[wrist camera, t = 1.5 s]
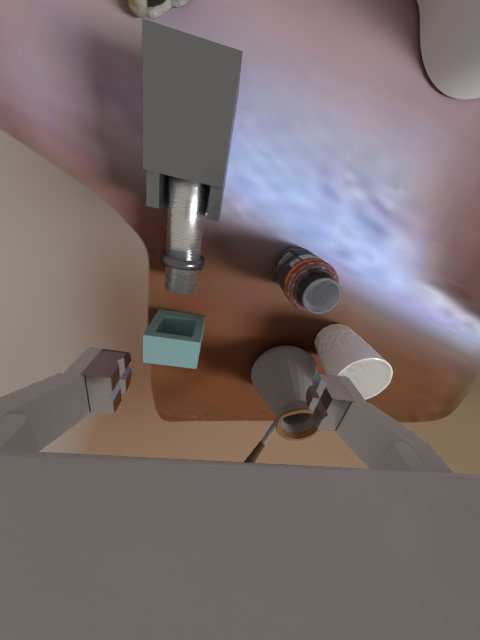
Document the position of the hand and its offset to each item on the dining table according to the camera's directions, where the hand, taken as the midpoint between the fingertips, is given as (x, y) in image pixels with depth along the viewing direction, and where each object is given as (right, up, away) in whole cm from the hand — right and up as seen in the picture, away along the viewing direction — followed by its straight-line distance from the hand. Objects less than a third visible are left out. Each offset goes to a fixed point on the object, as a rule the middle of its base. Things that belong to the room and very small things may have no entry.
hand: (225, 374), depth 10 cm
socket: (-9, +2, +26) cm, 28 cm away
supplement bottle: (+8, +10, +23) cm, 26 cm away
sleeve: (-4, +21, +16) cm, 27 cm away
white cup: (+17, -1, +29) cm, 34 cm away
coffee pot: (+5, -9, +33) cm, 35 cm away
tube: (-5, +16, +17) cm, 24 cm away
